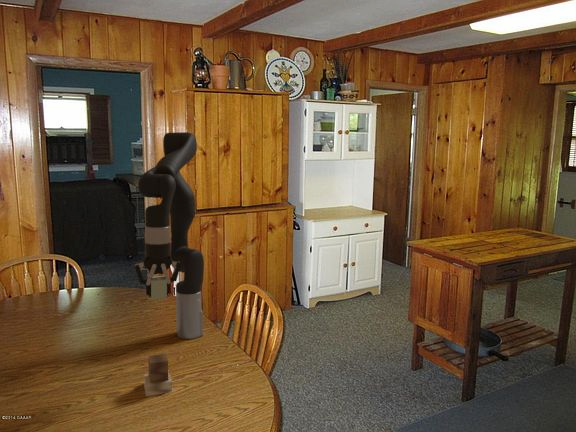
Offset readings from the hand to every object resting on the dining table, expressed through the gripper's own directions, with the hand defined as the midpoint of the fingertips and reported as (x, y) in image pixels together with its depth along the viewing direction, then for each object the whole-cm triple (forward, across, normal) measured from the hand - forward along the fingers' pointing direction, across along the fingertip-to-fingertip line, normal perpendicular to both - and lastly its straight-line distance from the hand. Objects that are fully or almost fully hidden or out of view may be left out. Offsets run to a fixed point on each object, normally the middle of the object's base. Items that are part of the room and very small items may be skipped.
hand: (158, 295), depth 148 cm
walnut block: (+22, +1, +9) cm, 24 cm away
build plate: (+26, +1, +9) cm, 28 cm away
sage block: (+1, 0, 0) cm, 1 cm away
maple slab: (+25, +1, +9) cm, 27 cm away
